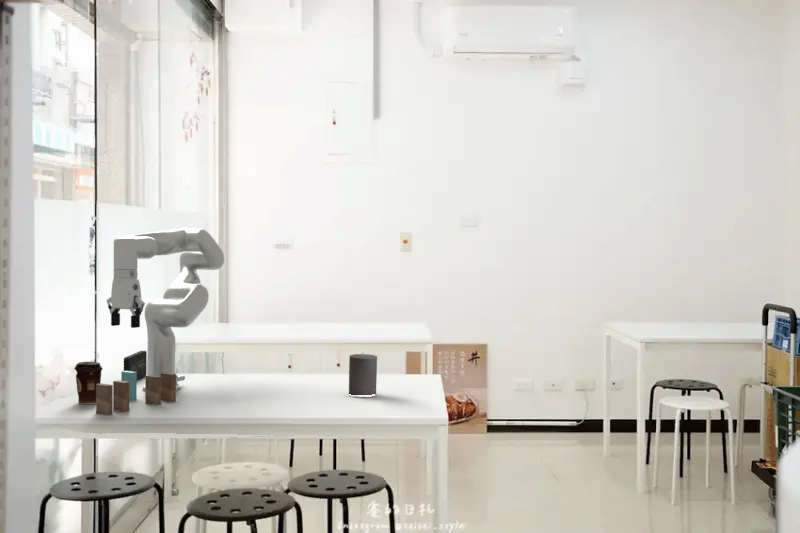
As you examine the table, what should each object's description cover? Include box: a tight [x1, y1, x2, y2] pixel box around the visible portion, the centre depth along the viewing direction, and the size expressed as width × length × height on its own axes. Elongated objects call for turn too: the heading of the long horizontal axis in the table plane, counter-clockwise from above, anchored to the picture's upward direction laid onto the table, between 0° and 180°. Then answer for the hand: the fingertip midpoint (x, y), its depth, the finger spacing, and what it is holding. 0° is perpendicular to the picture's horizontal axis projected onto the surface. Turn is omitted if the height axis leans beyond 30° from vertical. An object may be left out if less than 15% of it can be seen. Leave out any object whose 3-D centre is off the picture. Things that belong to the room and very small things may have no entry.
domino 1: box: [112, 379, 130, 413], centre depth 277 cm, size 2×5×9 cm, turn 58°
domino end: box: [161, 373, 177, 403], centre depth 293 cm, size 2×5×9 cm, turn 58°
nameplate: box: [123, 350, 148, 382], centre depth 331 cm, size 21×2×10 cm, turn 179°
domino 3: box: [144, 374, 162, 406], centre depth 288 cm, size 2×5×9 cm, turn 58°
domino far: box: [95, 382, 114, 416], centre depth 271 cm, size 2×5×9 cm, turn 58°
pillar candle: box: [348, 351, 378, 395], centre depth 308 cm, size 10×10×15 cm
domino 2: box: [120, 370, 138, 401], centre depth 296 cm, size 2×5×9 cm, turn 58°
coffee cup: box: [73, 361, 103, 405], centre depth 288 cm, size 9×8×13 cm
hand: (125, 326), depth 295 cm, fingers open, 9 cm apart
